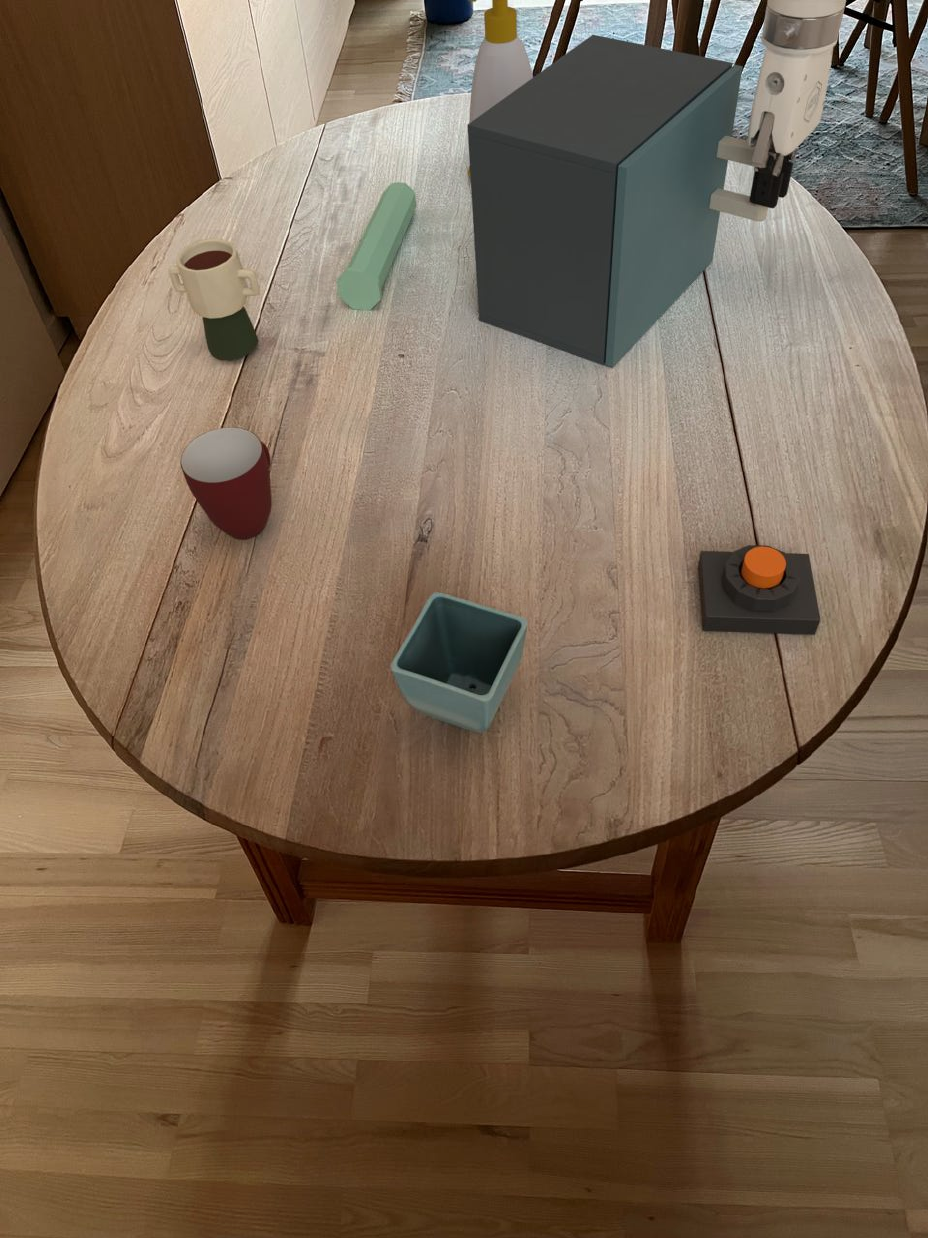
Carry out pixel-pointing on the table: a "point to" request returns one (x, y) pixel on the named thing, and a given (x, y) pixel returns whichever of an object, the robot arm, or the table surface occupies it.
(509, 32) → the soap bottle
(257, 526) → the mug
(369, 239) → the green octagonal rod
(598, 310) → the cupboard
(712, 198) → the door
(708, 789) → the table surface
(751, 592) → the button block
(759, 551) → the button
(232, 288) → the character mug
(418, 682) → the flower pot
